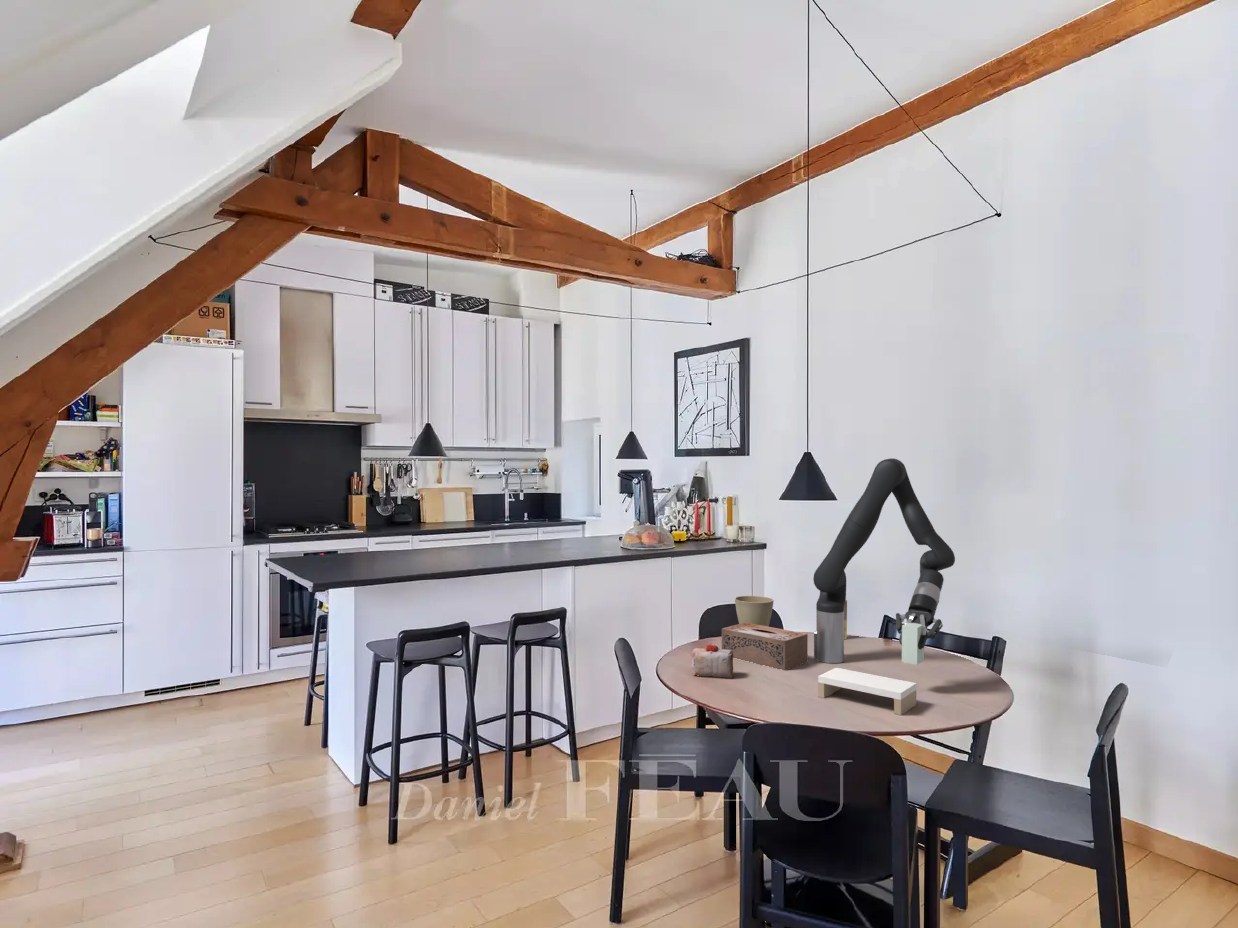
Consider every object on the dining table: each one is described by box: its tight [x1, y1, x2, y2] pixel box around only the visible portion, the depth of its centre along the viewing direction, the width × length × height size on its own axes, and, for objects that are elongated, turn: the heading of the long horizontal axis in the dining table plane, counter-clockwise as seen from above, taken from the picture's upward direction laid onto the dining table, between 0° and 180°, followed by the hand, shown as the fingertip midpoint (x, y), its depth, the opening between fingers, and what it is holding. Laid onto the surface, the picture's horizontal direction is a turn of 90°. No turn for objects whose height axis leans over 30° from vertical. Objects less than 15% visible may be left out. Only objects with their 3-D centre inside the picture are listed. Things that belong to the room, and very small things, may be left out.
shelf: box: [817, 667, 917, 716], centre depth 208 cm, size 24×12×6 cm, turn 49°
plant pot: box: [734, 595, 775, 627], centre depth 281 cm, size 15×15×16 cm
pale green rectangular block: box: [901, 622, 925, 665], centre depth 217 cm, size 4×6×11 cm
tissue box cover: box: [721, 622, 809, 671], centre depth 253 cm, size 26×14×10 cm, turn 45°
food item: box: [690, 643, 734, 679], centre depth 234 cm, size 14×8×10 cm, turn 76°
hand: (910, 646), depth 216 cm, fingers closed on pale green rectangular block, 4 cm apart
